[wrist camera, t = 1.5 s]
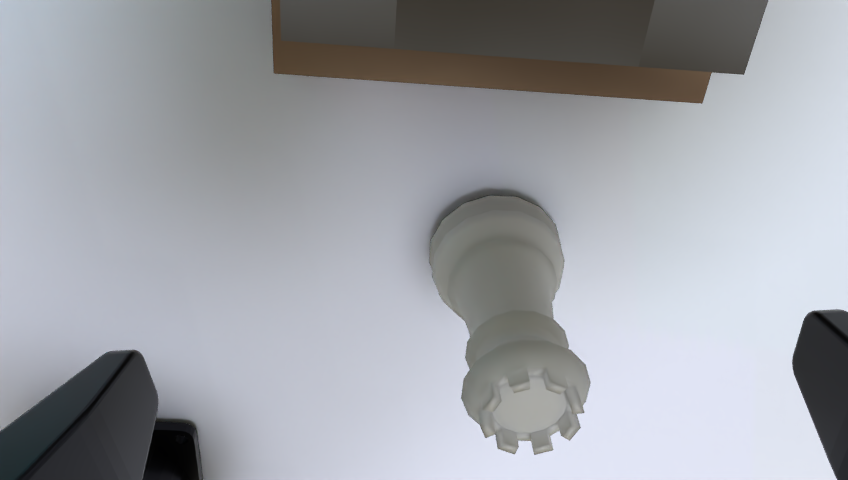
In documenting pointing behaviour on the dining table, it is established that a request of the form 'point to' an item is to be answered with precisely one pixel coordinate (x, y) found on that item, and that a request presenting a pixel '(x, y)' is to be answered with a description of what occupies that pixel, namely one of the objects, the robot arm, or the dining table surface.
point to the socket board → (483, 70)
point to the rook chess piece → (510, 320)
